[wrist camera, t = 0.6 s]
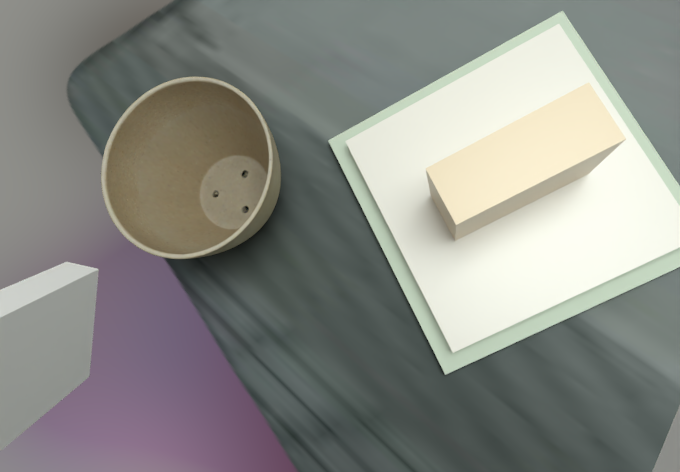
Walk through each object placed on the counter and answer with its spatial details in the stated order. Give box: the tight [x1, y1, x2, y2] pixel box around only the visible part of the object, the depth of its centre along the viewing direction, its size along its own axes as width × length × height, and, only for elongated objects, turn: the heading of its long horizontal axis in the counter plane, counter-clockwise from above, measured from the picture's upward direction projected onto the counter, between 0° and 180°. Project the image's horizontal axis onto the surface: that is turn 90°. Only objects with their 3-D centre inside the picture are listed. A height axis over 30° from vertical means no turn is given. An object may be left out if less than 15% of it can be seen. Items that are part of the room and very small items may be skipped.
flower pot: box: [101, 77, 281, 259], centre depth 29 cm, size 10×10×7 cm
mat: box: [328, 11, 680, 375], centre depth 29 cm, size 16×16×1 cm
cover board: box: [345, 24, 680, 353], centre depth 25 cm, size 14×14×7 cm
